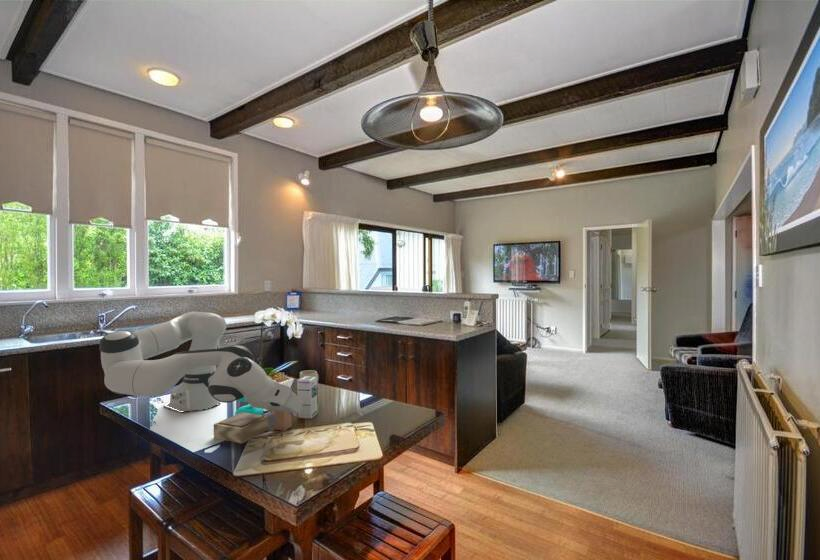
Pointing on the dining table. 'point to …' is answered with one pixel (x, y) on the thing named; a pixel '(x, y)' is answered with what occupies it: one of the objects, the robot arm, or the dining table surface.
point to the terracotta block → (283, 420)
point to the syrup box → (308, 396)
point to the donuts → (248, 409)
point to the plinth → (241, 427)
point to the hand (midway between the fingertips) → (284, 412)
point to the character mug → (308, 374)
